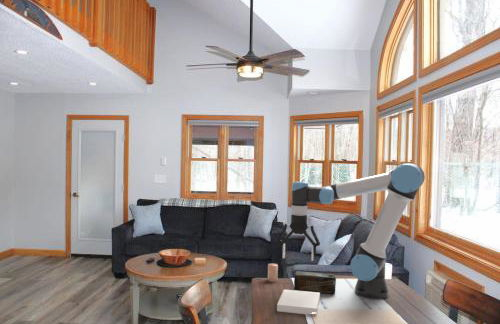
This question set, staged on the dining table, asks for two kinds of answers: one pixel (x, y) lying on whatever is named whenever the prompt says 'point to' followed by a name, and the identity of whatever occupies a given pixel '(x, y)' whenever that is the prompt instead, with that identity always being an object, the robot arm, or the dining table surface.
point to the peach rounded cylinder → (272, 272)
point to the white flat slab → (298, 302)
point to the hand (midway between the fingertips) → (297, 258)
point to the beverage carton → (315, 282)
